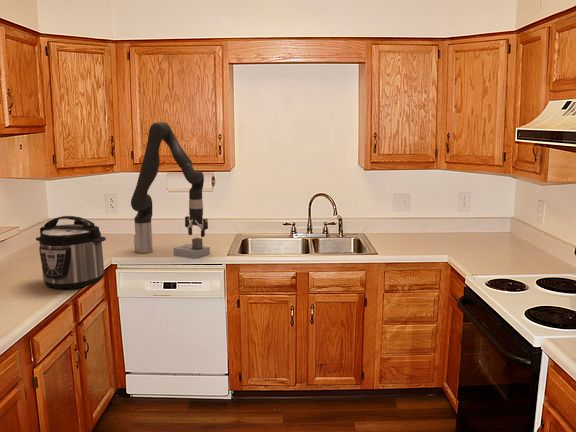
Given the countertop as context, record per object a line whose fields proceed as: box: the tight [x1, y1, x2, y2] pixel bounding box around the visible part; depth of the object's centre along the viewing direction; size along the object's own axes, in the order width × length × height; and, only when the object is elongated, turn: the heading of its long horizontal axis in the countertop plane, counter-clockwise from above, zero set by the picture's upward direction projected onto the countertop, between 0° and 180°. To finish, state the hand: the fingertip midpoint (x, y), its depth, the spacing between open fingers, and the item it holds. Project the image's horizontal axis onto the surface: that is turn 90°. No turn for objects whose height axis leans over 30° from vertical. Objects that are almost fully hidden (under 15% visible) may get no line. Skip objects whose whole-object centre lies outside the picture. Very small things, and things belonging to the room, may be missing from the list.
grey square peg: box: [191, 237, 204, 250], centre depth 312 cm, size 4×4×8 cm
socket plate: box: [173, 243, 211, 260], centre depth 315 cm, size 16×12×4 cm
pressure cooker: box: [35, 215, 107, 290], centre depth 263 cm, size 30×28×32 cm
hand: (196, 235), depth 311 cm, fingers open, 8 cm apart
